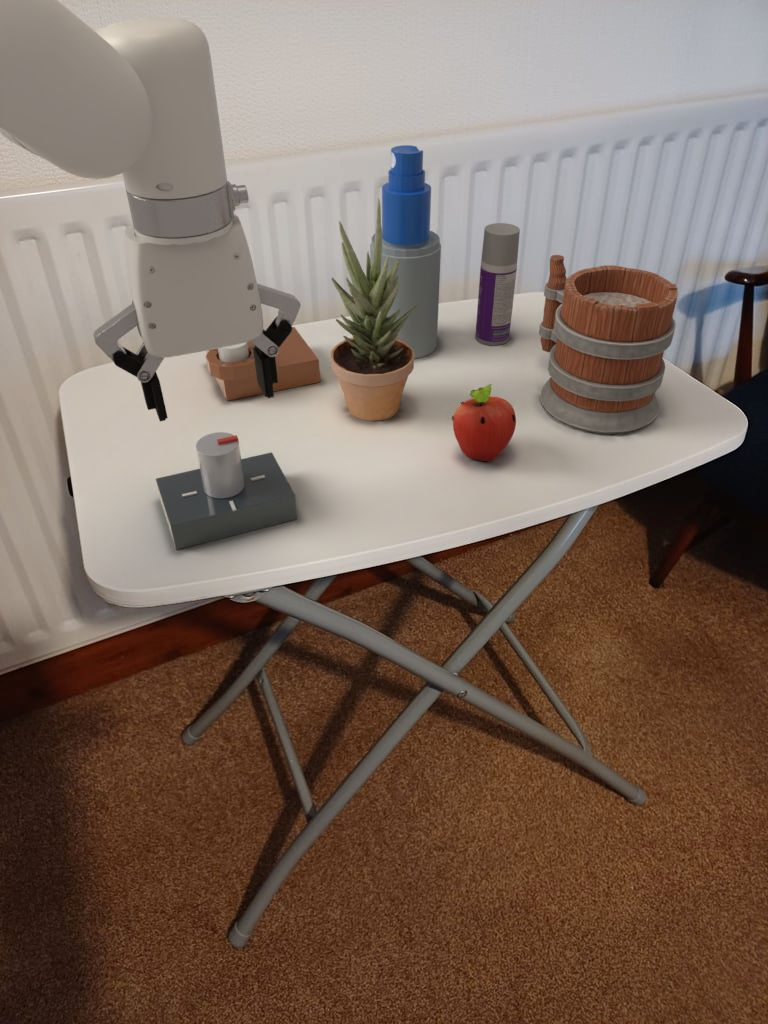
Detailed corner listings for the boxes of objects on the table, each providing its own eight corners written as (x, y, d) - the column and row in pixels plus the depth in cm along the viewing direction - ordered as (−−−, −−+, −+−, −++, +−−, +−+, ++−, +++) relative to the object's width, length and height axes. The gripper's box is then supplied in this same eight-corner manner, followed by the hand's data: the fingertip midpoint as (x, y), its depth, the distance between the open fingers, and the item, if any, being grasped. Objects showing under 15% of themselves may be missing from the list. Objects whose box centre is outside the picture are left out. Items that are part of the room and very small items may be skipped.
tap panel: (176, 551, 74) (170, 525, 72) (160, 501, 80) (154, 476, 78) (297, 519, 78) (295, 494, 76) (274, 474, 83) (271, 450, 81)
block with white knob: (219, 408, 94) (213, 371, 91) (198, 366, 102) (193, 331, 99) (323, 386, 98) (321, 350, 95) (296, 348, 106) (293, 313, 103)
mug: (587, 448, 87) (612, 322, 78) (493, 372, 101) (504, 258, 91) (683, 418, 92) (717, 296, 83) (581, 350, 106) (600, 239, 96)
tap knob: (208, 502, 75) (200, 456, 71) (199, 479, 78) (191, 434, 74) (249, 492, 76) (243, 447, 73) (239, 470, 79) (232, 425, 75)
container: (469, 333, 110) (477, 225, 100) (499, 328, 111) (509, 220, 101) (484, 348, 106) (494, 237, 97) (515, 342, 107) (527, 232, 98)
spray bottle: (382, 363, 103) (381, 161, 87) (363, 334, 109) (359, 141, 94) (446, 354, 105) (456, 154, 89) (423, 325, 111) (429, 136, 96)
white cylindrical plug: (223, 366, 93) (220, 350, 91) (216, 353, 95) (213, 337, 94) (252, 360, 94) (250, 345, 92) (244, 347, 96) (243, 332, 95)
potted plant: (339, 433, 90) (330, 214, 74) (328, 392, 97) (317, 184, 81) (424, 424, 91) (432, 207, 76) (407, 384, 98) (411, 179, 83)
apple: (443, 441, 88) (447, 361, 82) (501, 434, 89) (509, 355, 83) (461, 480, 83) (467, 398, 76) (523, 473, 84) (534, 391, 77)
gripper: (275, 181, 65) (293, 364, 76) (59, 210, 60) (111, 402, 71) (303, 208, 60) (318, 401, 71) (68, 242, 55) (123, 445, 66)
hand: (214, 401), depth 71 cm, fingers open, 9 cm apart
